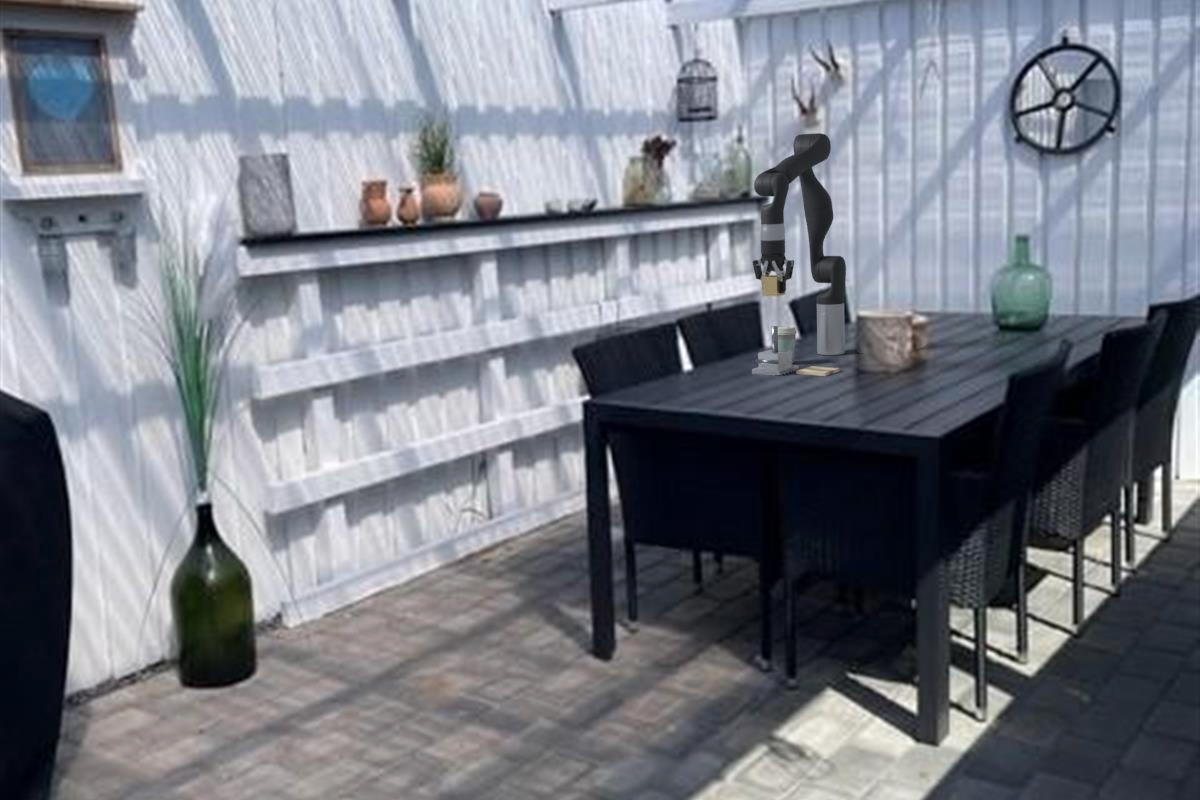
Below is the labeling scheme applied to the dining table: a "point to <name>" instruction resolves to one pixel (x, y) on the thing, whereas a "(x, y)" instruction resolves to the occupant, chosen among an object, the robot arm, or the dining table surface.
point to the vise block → (774, 359)
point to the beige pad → (818, 371)
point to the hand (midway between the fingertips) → (773, 292)
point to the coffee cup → (786, 338)
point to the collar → (771, 286)
